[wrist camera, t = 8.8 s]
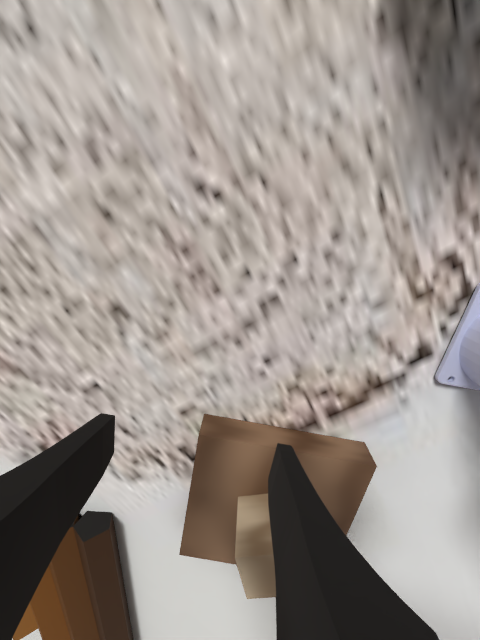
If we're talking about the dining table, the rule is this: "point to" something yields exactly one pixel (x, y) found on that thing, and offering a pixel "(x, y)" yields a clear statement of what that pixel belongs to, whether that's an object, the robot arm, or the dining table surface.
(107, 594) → the pan flute
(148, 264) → the dining table surface
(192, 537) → the walnut base
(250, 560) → the maple block
